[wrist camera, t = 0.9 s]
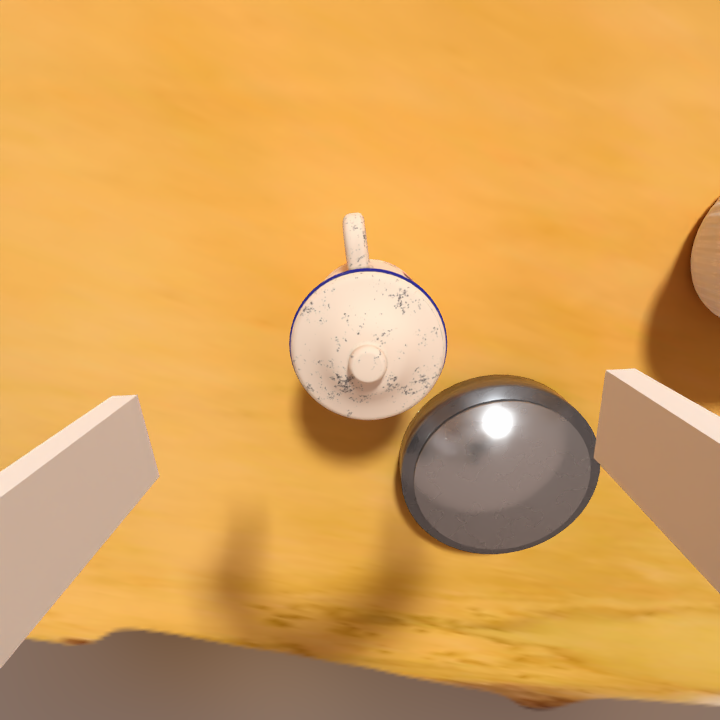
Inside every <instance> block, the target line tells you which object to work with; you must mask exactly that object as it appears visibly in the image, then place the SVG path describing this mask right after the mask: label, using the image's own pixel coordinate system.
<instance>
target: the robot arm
mask: <svg viewBox="0 0 720 720" xmlns="http://www.w3.org/2000/svg"><path fill="white" fill-rule="evenodd" d="M594 459H595V460H596V461H597V462H598V463H599V464H600V465H601V466H602V467H603V468H604V470H605V471H606V472H607V473H608V474H609V475H610V476H611V477H612V478H613V479H614V480H615V481H616V482H617V484H618V485H619V486H620V487H621V488H622V489H623V490H624V491H625V492H626V493H627V494H628V495H629V496H630V498H631V499H632V500H633V501H634V502H635V503H636V504H637V505H638V506H639V507H640V508H641V509H642V510H643V512H644V513H645V514H646V515H647V516H648V517H649V518H650V519H651V520H652V521H653V522H654V523H655V524H656V526H657V527H658V528H659V529H660V530H661V531H662V532H663V533H664V534H665V535H666V536H667V537H668V538H669V539H670V541H671V542H672V543H673V544H674V545H675V546H676V547H677V548H678V549H679V550H680V551H681V552H682V553H683V555H684V556H685V557H686V558H687V559H688V560H689V561H690V562H691V563H692V564H693V565H694V566H695V567H696V569H697V570H698V571H699V572H700V573H701V574H702V575H703V576H704V577H705V578H706V579H707V580H708V581H709V583H710V584H711V585H712V586H713V587H714V588H715V589H716V590H717V591H718V592H719V593H720V417H719V416H717V415H716V414H714V413H712V412H710V411H709V410H707V409H705V408H703V407H702V406H700V405H698V404H696V403H694V402H693V401H691V400H689V399H687V398H686V397H684V396H682V395H680V394H679V393H677V392H675V391H673V390H672V389H670V388H668V387H666V386H665V385H663V384H661V383H659V382H657V381H656V380H654V379H652V378H650V377H649V376H647V375H645V374H643V373H642V372H640V371H638V370H636V369H619V370H606V373H605V380H604V387H603V394H602V401H601V408H600V415H599V423H598V430H597V437H596V444H595V451H594ZM158 477H159V473H158V469H157V465H156V462H155V458H154V454H153V451H152V447H151V443H150V440H149V436H148V432H147V429H146V425H145V421H144V418H143V414H142V410H141V407H140V403H139V399H138V396H137V395H126V396H111V397H110V398H108V399H107V400H105V401H104V402H102V403H101V404H99V405H98V406H96V407H95V408H94V409H92V410H91V411H89V412H88V413H86V414H85V415H83V416H82V417H80V418H79V419H77V420H76V421H74V422H73V423H71V424H70V425H68V426H67V427H66V428H64V429H63V430H61V431H60V432H58V433H57V434H55V435H54V436H52V437H51V438H49V439H48V440H46V441H45V442H43V443H42V444H41V445H39V446H38V447H36V448H35V449H33V450H32V451H30V452H29V453H27V454H26V455H24V456H23V457H21V458H20V459H18V460H17V461H16V462H14V463H13V464H11V465H10V466H8V467H7V468H5V469H4V470H2V471H1V472H0V668H1V667H2V666H3V665H4V663H5V662H6V661H7V660H8V659H9V657H10V656H11V655H12V654H13V653H14V651H15V650H16V649H17V648H18V647H19V645H20V644H21V643H22V642H23V641H24V639H25V638H26V637H27V636H28V634H29V633H30V632H31V631H32V630H33V628H34V627H35V626H36V625H37V624H38V622H39V621H40V620H41V619H42V618H43V616H44V615H45V614H46V613H47V612H48V610H49V609H50V608H51V607H52V605H53V604H54V603H55V602H56V601H57V599H58V598H59V597H60V596H61V595H62V593H63V592H64V591H65V590H66V589H67V587H68V586H69V585H70V584H71V582H72V581H73V580H74V579H75V578H76V576H77V575H78V574H79V573H80V572H81V570H82V569H83V568H84V567H85V566H86V564H87V563H88V562H89V561H90V560H91V558H92V557H93V556H94V555H95V553H96V552H97V551H98V550H99V549H100V547H101V546H102V545H103V544H104V543H105V541H106V540H107V539H108V538H109V537H110V535H111V534H112V533H113V532H114V531H115V529H116V528H117V527H118V526H119V524H120V523H121V522H122V521H123V520H124V518H125V517H126V516H127V515H128V514H129V512H130V511H131V510H132V509H133V508H134V506H135V505H136V504H137V503H138V501H139V500H140V499H141V498H142V497H143V495H144V494H145V493H146V492H147V491H148V489H149V488H150V487H151V486H152V485H153V483H154V482H155V481H156V480H157V479H158Z"/></svg>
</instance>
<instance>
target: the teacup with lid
mask: <svg viewBox="0 0 720 720" xmlns="http://www.w3.org/2000/svg"><path fill="white" fill-rule="evenodd" d="M343 235H344V244H345V252H346V259H347V264H344V265H342V266H340V267H339V268H337V269H336V270H334V271H333V272H332V273H330V274H329V275H328V276H327V277H326V278H325V280H324V281H323V282H322V283H321V284H319V285H318V286H317V287H316V288H314V289H313V290H312V291H311V292H310V293H309V294H308V296H307V297H306V298H305V299H304V301H303V302H302V304H301V305H300V307H299V309H298V311H297V312H296V315H295V317H294V320H293V323H292V327H291V332H290V342H289V345H290V356H291V361H292V365H293V367H294V370H295V373H296V375H297V377H298V379H299V381H300V382H301V384H302V386H303V387H304V388H305V390H306V391H307V392H308V393H309V394H310V396H311V397H312V398H313V399H315V400H316V401H317V402H318V403H319V404H321V405H322V406H323V407H325V408H327V409H328V410H330V411H332V412H334V413H336V414H339V415H341V416H345V417H348V418H352V419H359V420H378V419H384V418H388V417H392V416H395V415H398V414H400V413H402V412H405V411H406V410H408V409H410V408H412V407H413V406H414V405H416V404H417V403H418V402H420V401H421V400H422V399H423V398H424V397H425V396H426V395H427V394H428V393H429V391H430V390H431V389H432V388H433V386H434V385H435V383H436V381H437V380H438V378H439V376H440V374H441V371H442V369H443V366H444V363H445V358H446V353H447V335H446V329H445V324H444V321H443V318H442V316H441V314H440V311H439V309H438V308H437V306H436V304H435V303H434V301H433V300H432V299H431V297H430V296H429V295H428V294H427V293H426V292H425V291H424V290H423V289H422V288H421V287H420V286H419V285H417V284H416V283H415V282H414V281H413V280H412V279H411V278H410V277H409V276H408V275H407V274H406V273H405V272H404V271H403V270H401V269H400V268H398V267H396V266H395V265H392V264H390V263H388V262H385V261H381V260H374V259H369V254H368V246H367V238H366V230H365V223H364V218H363V216H362V215H361V214H360V213H350V214H347V215H345V217H344V219H343Z"/></svg>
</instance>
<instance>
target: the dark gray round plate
mask: <svg viewBox="0 0 720 720" xmlns="http://www.w3.org/2000/svg"><path fill="white" fill-rule="evenodd" d="M595 444H596V438H595V435H594V433H593V431H592V429H591V427H590V426H589V424H588V423H587V421H586V420H585V419H584V418H583V417H582V415H581V414H580V413H579V412H578V411H577V410H576V409H575V408H574V407H572V406H571V405H570V404H569V403H568V402H567V401H566V400H565V399H564V398H563V397H561V396H560V395H559V394H558V393H556V392H555V391H554V390H552V389H551V388H549V387H547V386H545V385H544V384H541V383H539V382H536V381H534V380H531V379H527V378H523V377H519V376H511V375H489V376H481V377H477V378H473V379H468V380H466V381H463V382H460V383H458V384H455V385H453V386H451V387H449V388H447V389H445V390H444V391H442V392H441V393H439V394H438V395H436V396H435V397H433V398H432V399H431V400H430V401H429V402H428V403H426V404H425V405H424V406H423V407H422V408H421V410H420V411H419V412H418V413H417V414H416V415H415V417H414V418H413V420H412V421H411V423H410V424H409V426H408V428H407V430H406V432H405V435H404V438H403V440H402V443H401V449H400V454H399V467H400V475H401V483H402V492H403V495H404V499H405V502H406V505H407V507H408V509H409V511H410V513H411V514H412V516H413V517H414V519H415V520H416V522H417V523H418V524H419V525H420V526H421V527H422V528H423V529H424V530H425V531H426V532H427V533H428V534H430V535H431V536H432V537H434V538H435V539H437V540H439V541H440V542H442V543H444V544H446V545H448V546H451V547H454V548H456V549H459V550H463V551H467V552H472V553H480V554H501V553H510V552H515V551H520V550H523V549H527V548H530V547H533V546H535V545H538V544H540V543H543V542H544V541H546V540H548V539H550V538H552V537H554V536H555V535H557V534H558V533H560V532H561V531H563V530H564V529H565V528H566V527H567V526H569V525H570V524H571V523H572V522H573V521H574V520H575V519H576V518H577V517H578V516H579V515H580V514H581V512H582V511H583V510H584V508H585V507H586V505H587V504H588V502H589V500H590V499H591V497H592V495H593V493H594V490H595V488H596V485H597V482H598V477H599V473H600V464H599V463H598V462H597V461H596V460H595V459H594V451H595Z"/></svg>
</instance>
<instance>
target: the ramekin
mask: <svg viewBox="0 0 720 720" xmlns="http://www.w3.org/2000/svg"><path fill="white" fill-rule="evenodd" d="M690 262H691V274H692V281H693V284H694V287H695V290H696V292H697V294H698V296H699V298H700V300H701V301H702V302H703V303H704V305H705V306H706V307H707V308H709V310H710V311H711V312H712V313H714V314H715V315H717V316H718V317H719V318H720V197H719V198H718V200H717V201H716V202H715V204H714V205H713V206H712V207H711V208H710V210H709V212H708V213H707V215H706V216H705V218H704V219H703V221H702V223H701V225H700V228H699V229H698V232H697V235H696V237H695V240H694V244H693V247H692V253H691V261H690Z"/></svg>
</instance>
